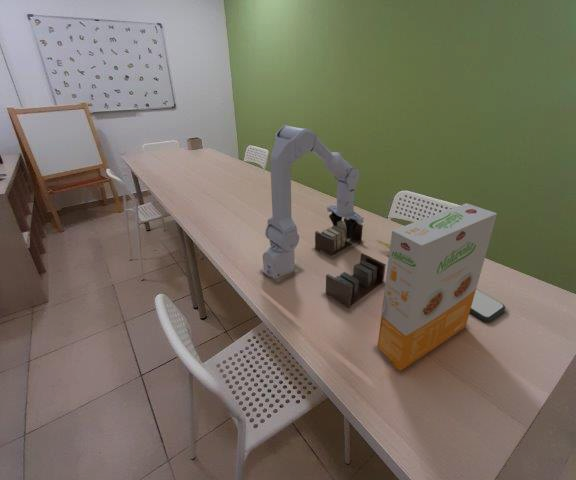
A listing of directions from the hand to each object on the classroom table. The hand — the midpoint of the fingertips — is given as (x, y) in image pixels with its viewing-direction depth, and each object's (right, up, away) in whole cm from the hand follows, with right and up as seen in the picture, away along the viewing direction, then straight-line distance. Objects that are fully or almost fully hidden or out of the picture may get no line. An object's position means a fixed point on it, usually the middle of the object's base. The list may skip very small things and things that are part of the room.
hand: (343, 234), depth 107 cm
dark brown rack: (-2, -4, 0) cm, 4 cm away
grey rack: (-1, -14, -22) cm, 26 cm away
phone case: (+28, -15, -26) cm, 41 cm away
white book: (0, -1, +1) cm, 2 cm away
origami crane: (+17, -7, -8) cm, 20 cm away
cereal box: (+11, -21, -38) cm, 45 cm away
